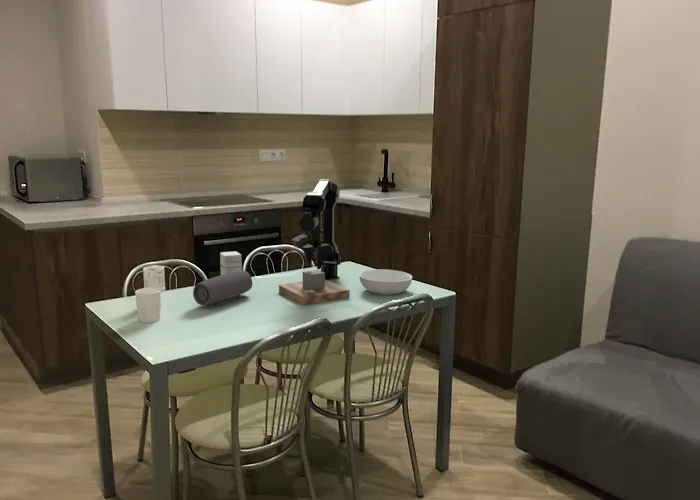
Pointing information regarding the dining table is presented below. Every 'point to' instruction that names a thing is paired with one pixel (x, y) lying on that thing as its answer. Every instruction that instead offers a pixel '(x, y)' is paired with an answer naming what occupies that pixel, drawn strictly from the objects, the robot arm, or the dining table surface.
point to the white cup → (148, 304)
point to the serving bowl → (385, 281)
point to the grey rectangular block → (313, 279)
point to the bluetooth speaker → (222, 288)
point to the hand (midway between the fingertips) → (313, 267)
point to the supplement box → (230, 262)
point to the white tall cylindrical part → (154, 277)
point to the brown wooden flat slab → (313, 292)
